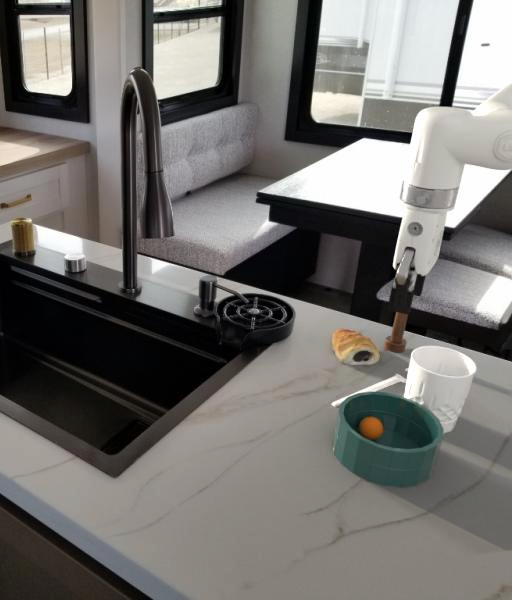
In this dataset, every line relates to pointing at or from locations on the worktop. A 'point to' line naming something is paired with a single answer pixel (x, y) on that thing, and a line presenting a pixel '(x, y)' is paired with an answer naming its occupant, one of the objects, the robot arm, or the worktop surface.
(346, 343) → the pastry
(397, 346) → the brown wooden pestle
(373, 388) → the fork
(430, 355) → the white cup
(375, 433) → the ball
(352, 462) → the bowl
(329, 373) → the worktop surface
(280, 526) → the worktop surface
